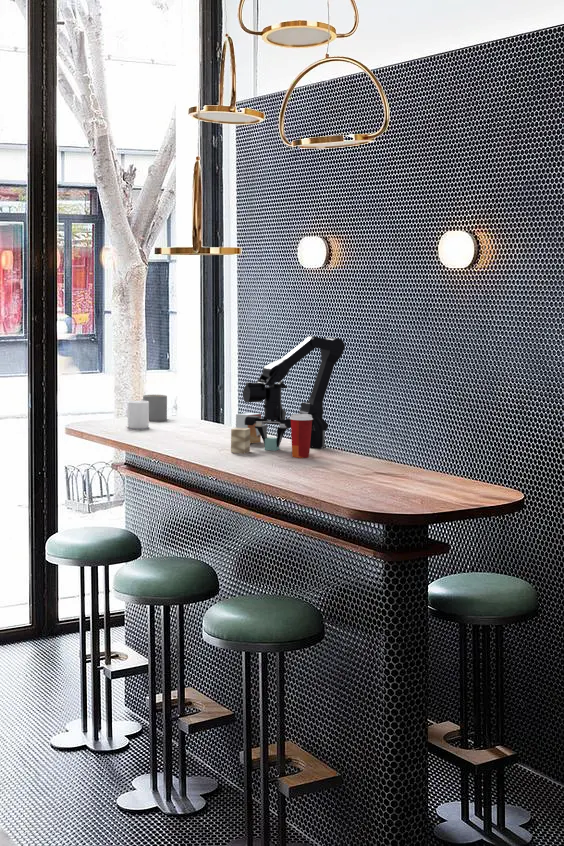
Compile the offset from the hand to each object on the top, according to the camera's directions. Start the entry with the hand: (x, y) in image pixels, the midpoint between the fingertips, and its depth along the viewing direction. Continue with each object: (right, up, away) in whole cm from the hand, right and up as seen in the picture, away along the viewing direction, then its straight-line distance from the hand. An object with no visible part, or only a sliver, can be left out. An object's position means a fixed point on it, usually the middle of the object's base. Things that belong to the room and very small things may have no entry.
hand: (272, 446), depth 371 cm
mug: (-54, +6, +53) cm, 76 cm away
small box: (-9, +1, +15) cm, 18 cm away
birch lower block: (-11, -2, -7) cm, 13 cm away
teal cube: (0, -1, 0) cm, 1 cm away
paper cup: (+10, -3, -15) cm, 18 cm away
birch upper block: (-11, +2, -7) cm, 13 cm away
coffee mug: (-51, +10, +80) cm, 95 cm away
